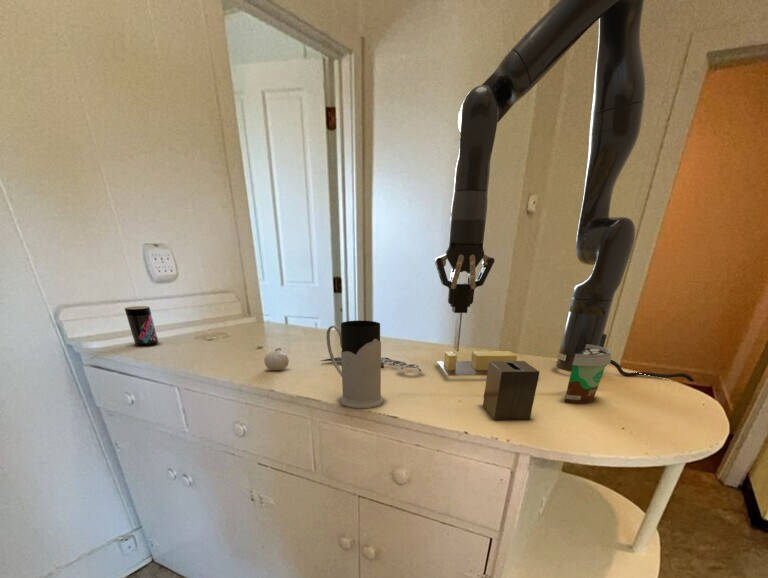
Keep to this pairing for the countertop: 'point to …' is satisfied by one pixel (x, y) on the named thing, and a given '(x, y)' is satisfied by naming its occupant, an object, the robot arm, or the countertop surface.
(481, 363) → the butter
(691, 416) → the countertop surface
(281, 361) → the garlic
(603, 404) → the countertop surface
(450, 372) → the rectangular tray
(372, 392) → the glass holder
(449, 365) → the butter slice
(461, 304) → the kitchen knife
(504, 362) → the knife block
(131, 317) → the supplement container
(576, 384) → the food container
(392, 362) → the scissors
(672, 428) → the countertop surface
